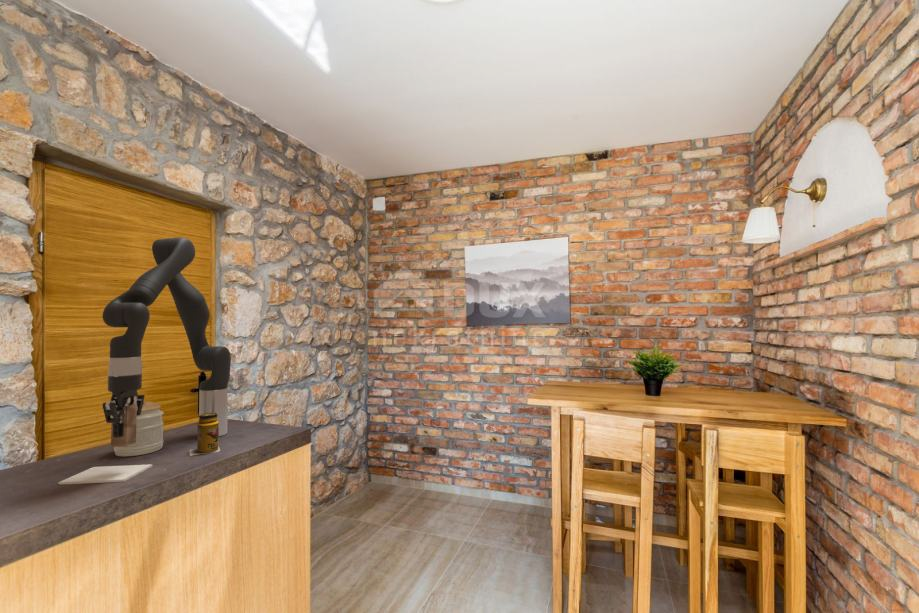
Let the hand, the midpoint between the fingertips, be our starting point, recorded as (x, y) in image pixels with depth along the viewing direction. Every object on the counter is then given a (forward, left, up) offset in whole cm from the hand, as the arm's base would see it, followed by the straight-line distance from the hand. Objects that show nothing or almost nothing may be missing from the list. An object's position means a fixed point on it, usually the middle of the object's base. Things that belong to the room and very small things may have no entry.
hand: (123, 434), depth 118 cm
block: (0, 0, -3) cm, 3 cm away
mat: (0, -4, -11) cm, 12 cm away
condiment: (-20, +12, -11) cm, 26 cm away
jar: (-23, -10, -11) cm, 27 cm away
